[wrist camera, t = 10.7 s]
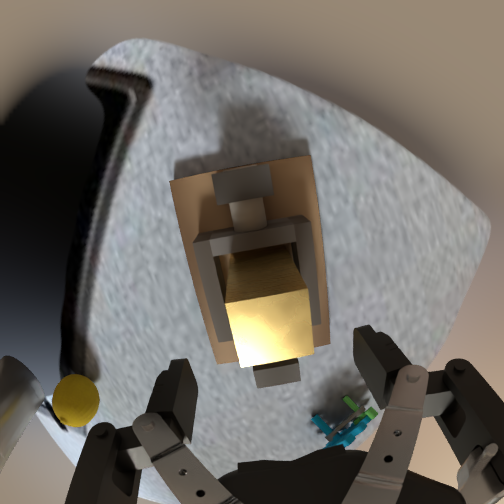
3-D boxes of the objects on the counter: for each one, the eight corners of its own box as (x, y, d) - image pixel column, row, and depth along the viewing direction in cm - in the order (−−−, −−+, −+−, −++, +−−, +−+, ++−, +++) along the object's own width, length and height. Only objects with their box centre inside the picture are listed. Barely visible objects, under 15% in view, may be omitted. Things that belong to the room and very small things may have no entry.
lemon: (62, 362, 27) (33, 402, 20) (95, 361, 27) (66, 406, 20) (83, 394, 29) (60, 436, 21) (115, 395, 29) (94, 441, 21)
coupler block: (240, 299, 24) (241, 367, 15) (230, 252, 23) (224, 303, 14) (289, 290, 24) (314, 354, 15) (282, 242, 23) (307, 288, 14)
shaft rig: (218, 355, 27) (214, 395, 22) (173, 180, 22) (152, 184, 17) (326, 336, 27) (343, 372, 22) (306, 155, 22) (327, 152, 17)
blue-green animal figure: (322, 457, 32) (303, 483, 23) (296, 430, 35) (271, 450, 26) (381, 408, 31) (381, 425, 23) (353, 380, 34) (345, 390, 26)
